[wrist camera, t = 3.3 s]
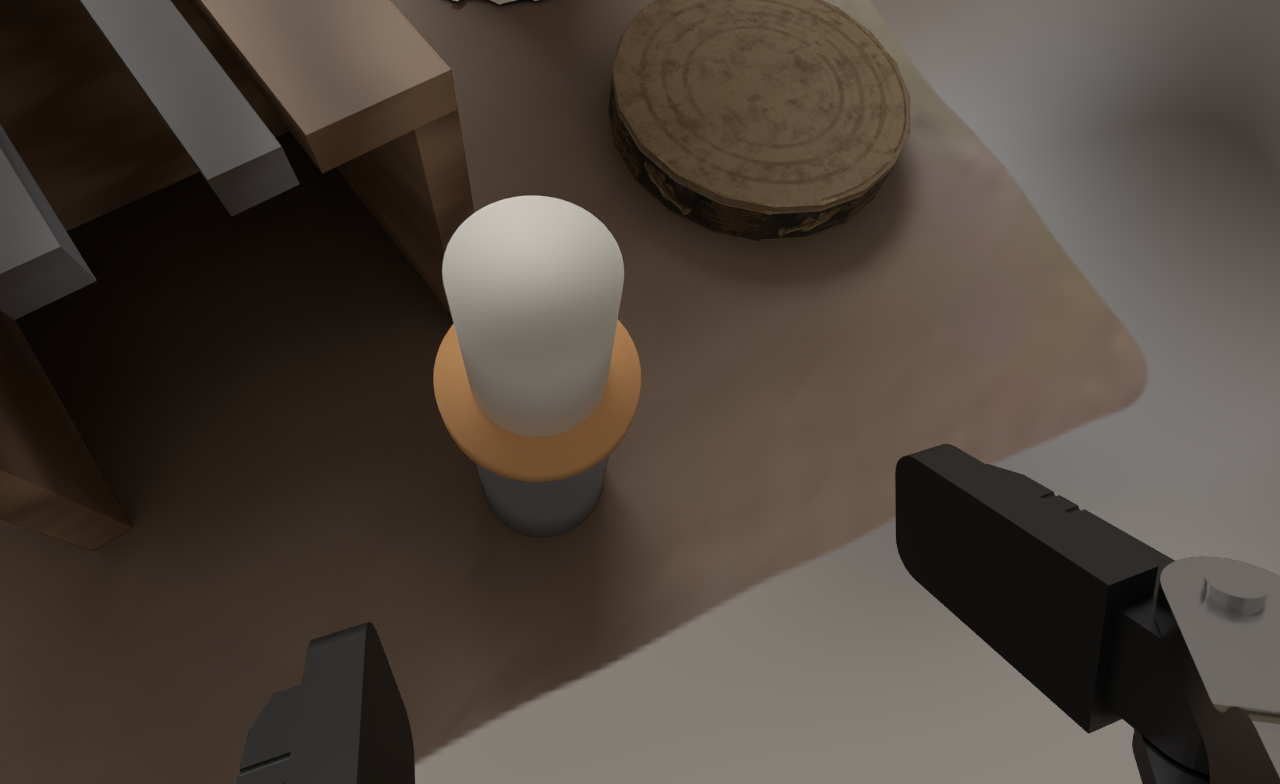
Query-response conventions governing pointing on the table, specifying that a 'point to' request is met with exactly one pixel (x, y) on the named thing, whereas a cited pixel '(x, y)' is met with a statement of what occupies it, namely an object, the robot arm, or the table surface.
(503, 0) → the decorative vase
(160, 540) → the table surface
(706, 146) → the wood slice
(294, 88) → the wooden slotted block
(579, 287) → the cylinder with orange collar
